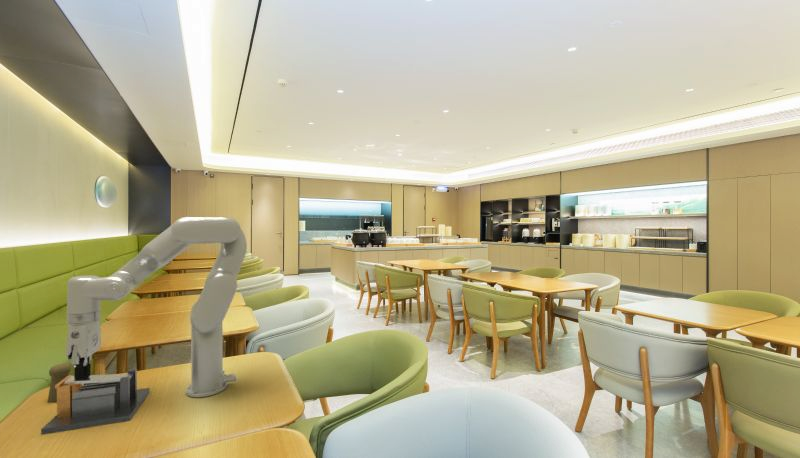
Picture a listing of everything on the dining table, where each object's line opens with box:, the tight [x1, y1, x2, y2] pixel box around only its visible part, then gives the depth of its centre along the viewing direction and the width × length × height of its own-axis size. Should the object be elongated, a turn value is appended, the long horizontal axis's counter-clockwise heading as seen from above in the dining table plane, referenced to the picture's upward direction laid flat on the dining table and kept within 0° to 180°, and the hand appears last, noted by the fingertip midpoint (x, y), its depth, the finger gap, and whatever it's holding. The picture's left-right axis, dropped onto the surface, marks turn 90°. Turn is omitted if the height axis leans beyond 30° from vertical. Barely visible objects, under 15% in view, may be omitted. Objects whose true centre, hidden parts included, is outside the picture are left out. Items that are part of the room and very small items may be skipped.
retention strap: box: [64, 373, 133, 384], centre depth 107 cm, size 16×4×1 cm, turn 110°
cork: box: [47, 362, 72, 404], centre depth 115 cm, size 6×6×11 cm
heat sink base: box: [40, 368, 151, 436], centre depth 107 cm, size 20×18×11 cm
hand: (82, 378), depth 106 cm, fingers closed
